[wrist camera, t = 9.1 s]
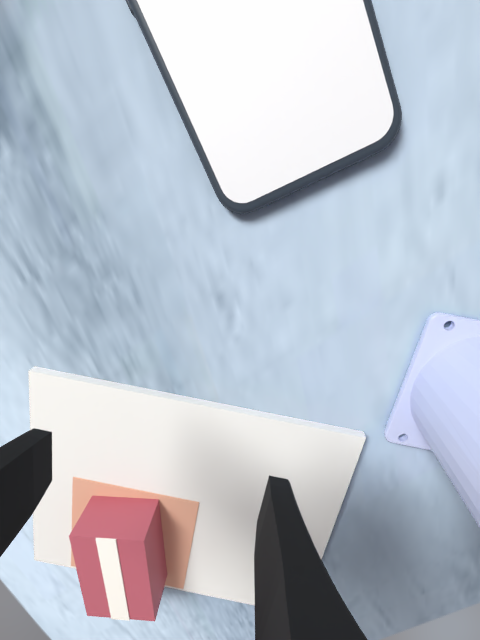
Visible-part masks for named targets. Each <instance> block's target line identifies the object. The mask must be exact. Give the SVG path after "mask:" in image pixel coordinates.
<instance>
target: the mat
mask: <svg viewBox="0 0 480 640" xmlns="http://www.w3.org/2000/svg"><path fill="white" fill-rule="evenodd" d="M29 403H30V430H32V429H33V428H35V429H40V430H45V431H50V432H52V482H51V483H50V485H49V487H48V489H47V490H46V492H45V494H44V496H43V498H42V499H41V501H40V502H39V504H38V506H37V507H36V509H35V511H34V512H33V534H34V560H36V561H41V562H46V563H51V564H56V565H61V566H65V567H70V568H75V569H76V565H75V561H74V556H73V552H72V548H71V543H70V539H69V535H70V533H71V531H72V530H73V528H74V526H75V525H76V523H77V521H78V519H79V518H80V516H81V514H82V512H83V511H84V509H85V507H86V506H87V504H88V502H89V500H90V499H91V497H92V496H110V497H128V498H146V499H159V504H160V513H161V522H162V531H163V540H164V549H165V558H166V567H167V578H166V582H165V585H164V587H168V588H173V589H178V590H182V591H187V592H192V593H197V594H202V595H207V596H212V597H217V598H221V599H226V600H231V601H236V602H241V603H246V604H251V605H255V588H254V551H255V538H256V526H257V519H258V516H259V512H260V508H261V504H262V500H263V497H264V493H265V489H266V485H267V482H268V478H269V476H274V477H279V478H284V479H288V480H289V482H290V484H291V487H292V490H293V493H294V496H295V499H296V502H297V505H298V507H299V510H300V512H301V515H302V518H303V520H304V523H305V525H306V527H307V530H308V532H309V534H310V536H311V539H312V541H313V543H314V546H315V548H316V550H317V552H318V554H319V556H320V558H321V559H322V557H323V554H324V551H325V549H326V546H327V543H328V540H329V538H330V535H331V532H332V529H333V527H334V524H335V521H336V519H337V516H338V513H339V510H340V508H341V505H342V502H343V500H344V497H345V494H346V491H347V489H348V486H349V483H350V480H351V478H352V475H353V472H354V470H355V467H356V464H357V461H358V459H359V456H360V453H361V451H362V448H363V445H364V442H365V440H366V436H365V434H364V431H359V430H354V429H349V428H344V427H339V426H334V425H329V424H324V423H319V422H313V421H308V420H303V419H298V418H293V417H288V416H283V415H278V414H273V413H268V412H263V411H258V410H253V409H248V408H243V407H238V406H233V405H228V404H223V403H218V402H213V401H208V400H203V399H198V398H193V397H188V396H183V395H178V394H173V393H167V392H162V391H157V390H152V389H147V388H142V387H137V386H132V385H127V384H122V383H117V382H112V381H107V380H102V379H97V378H92V377H87V376H82V375H77V374H72V373H67V372H62V371H57V370H52V369H47V368H42V367H37V366H34V367H33V368H32V369H30V370H29Z"/></svg>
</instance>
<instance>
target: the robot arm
mask: <svg viewBox="0 0 480 640" xmlns="http://www.w3.org/2000/svg"><path fill="white" fill-rule="evenodd" d="M447 321H451V324H450V326H449V327H447V328H444V324H445V323H446V322H447ZM401 434H405V435H404V436H403V437H399V436H400V435H401ZM384 435H385V438H386V439H387V440H388V441H389V442H391V443H396V444H402V445H407V446H412V447H417V448H422V449H427V450H432V451H433V453H434V454H435V456H436V458H437V459H438V461H439V463H440V464H441V466H442V467H443V469H444V471H445V472H446V474H447V476H448V477H449V479H450V480H451V482H452V484H453V485H454V487H455V489H456V490H457V492H458V493H459V495H460V497H461V498H462V500H463V502H464V503H465V505H466V506H467V508H468V510H469V511H470V513H471V515H472V516H473V518H474V520H475V521H476V523H477V524H478V526H479V528H480V320H476V319H471V318H466V317H461V316H456V315H451V314H446V313H440V312H436V313H433V314H431V315H430V316H429V317H428V319H427V321H426V323H425V326H424V328H423V331H422V334H421V336H420V339H419V341H418V344H417V347H416V349H415V352H414V354H413V357H412V360H411V362H410V365H409V367H408V370H407V373H406V375H405V378H404V380H403V383H402V385H401V388H400V391H399V393H398V396H397V398H396V401H395V404H394V406H393V409H392V411H391V414H390V417H389V419H388V422H387V424H386V427H385V430H384ZM51 482H52V432H50V431H45V430H40V429H35V428H33V429H32V430H30V431H28V432H26V433H24V434H22V435H21V436H19V437H17V438H15V439H14V440H12V441H10V442H8V443H7V444H5V445H3V446H1V447H0V557H1V555H2V554H3V553H4V551H5V550H6V549H7V547H8V546H9V545H10V543H11V542H12V541H13V539H14V538H15V537H16V535H17V534H18V533H19V531H20V530H21V529H22V527H23V526H24V525H25V523H26V522H27V520H28V519H29V518H30V516H31V515H32V514H33V512H34V511H35V509H36V507H37V506H38V504H39V502H40V501H41V499H42V498H43V496H44V494H45V492H46V490H47V489H48V487H49V485H50V483H51ZM254 588H255V640H367V638H366V637H365V635H364V634H363V632H362V631H361V629H360V628H359V626H358V624H357V623H356V621H355V619H354V618H353V616H352V615H351V613H350V611H349V610H348V608H347V606H346V605H345V603H344V601H343V600H342V598H341V596H340V594H339V593H338V591H337V589H336V587H335V585H334V584H333V582H332V580H331V578H330V576H329V574H328V572H327V570H326V568H325V566H324V564H323V562H322V560H321V558H320V556H319V554H318V552H317V550H316V548H315V546H314V543H313V541H312V539H311V536H310V534H309V532H308V530H307V527H306V525H305V523H304V520H303V518H302V515H301V512H300V510H299V507H298V505H297V502H296V499H295V496H294V493H293V490H292V487H291V484H290V482H289V480H288V479H284V478H279V477H274V476H269V478H268V482H267V485H266V489H265V493H264V497H263V500H262V504H261V508H260V512H259V516H258V519H257V526H256V538H255V551H254Z"/></svg>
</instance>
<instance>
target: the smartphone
mask: <svg viewBox="0 0 480 640" xmlns="http://www.w3.org/2000/svg"><path fill="white" fill-rule="evenodd" d="M126 2H127V4H128V7H129V9H130V11H131V13H132V15H133V16H134V17H135V18H136V19H137V21H138V24H139V26H140V28H141V30H142V32H143V35H144V37H145V39H146V41H147V43H148V46H149V48H150V50H151V52H152V54H153V57H154V59H155V61H156V63H157V65H158V68H159V70H160V72H161V74H162V76H163V79H164V81H165V83H166V85H167V87H168V90H169V92H170V94H171V96H172V98H173V101H174V103H175V105H176V107H177V109H178V112H179V114H180V116H181V118H182V120H183V123H184V125H185V127H186V129H187V131H188V134H189V136H190V138H191V140H192V142H193V145H194V147H195V149H196V151H197V153H198V156H199V158H200V160H201V162H202V164H203V167H204V169H205V171H206V173H207V175H208V178H209V180H210V182H211V184H212V187H213V189H214V191H215V193H216V195H217V197H218V199H219V201H220V202H221V203H222V204H223V206H225V207H226V208H227V209H229V210H231V211H232V212H236V213H243V214H244V213H250V212H253V211H255V210H257V209H259V208H261V207H264V206H266V205H268V204H270V203H272V202H274V201H276V200H278V199H281V198H283V197H285V196H287V195H289V194H291V193H293V192H295V191H298V190H300V189H302V188H304V187H306V186H308V185H310V184H312V183H315V182H317V181H319V180H321V179H323V178H325V177H327V176H329V175H332V174H334V173H336V172H338V171H340V170H342V169H344V168H346V167H349V166H351V165H353V164H355V163H357V162H359V161H361V160H363V159H366V158H368V157H370V156H372V155H374V154H376V153H378V152H380V151H382V150H384V149H385V148H386V147H387V146H388V145H390V143H391V142H392V141H393V140H394V138H395V137H396V135H397V133H398V131H399V128H400V125H401V120H402V112H401V106H400V103H399V99H398V95H397V92H396V88H395V85H394V81H393V77H392V74H391V70H390V66H389V63H388V59H387V56H386V52H385V48H384V45H383V41H382V37H381V34H380V30H379V27H378V23H377V19H376V16H375V12H374V8H373V5H372V1H371V0H126Z"/></svg>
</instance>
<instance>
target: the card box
mask: <svg viewBox="0 0 480 640" xmlns="http://www.w3.org/2000/svg"><path fill="white" fill-rule="evenodd" d="M69 539H70V543H71V548H72V552H73V556H74V561H75V565H76V569H77V574H78V578H79V582H80V587H81V591H82V595H83V600H84V604H85V608H86V612H87V616H98V617H110V618H111V619H117V620H130V619H135V620H147V621H155V619H156V616H157V612H158V608H159V604H160V600H161V597H162V593H163V589H164V585H165V582H166V578H167V567H166V558H165V549H164V540H163V531H162V522H161V513H160V504H159V499H146V498H128V497H110V496H92V497H91V499H90V500H89V502H88V504H87V506H86V507H85V509H84V511H83V512H82V514H81V516H80V518H79V519H78V521H77V523H76V525H75V526H74V528H73V530H72V531H71V533H70V535H69Z"/></svg>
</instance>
